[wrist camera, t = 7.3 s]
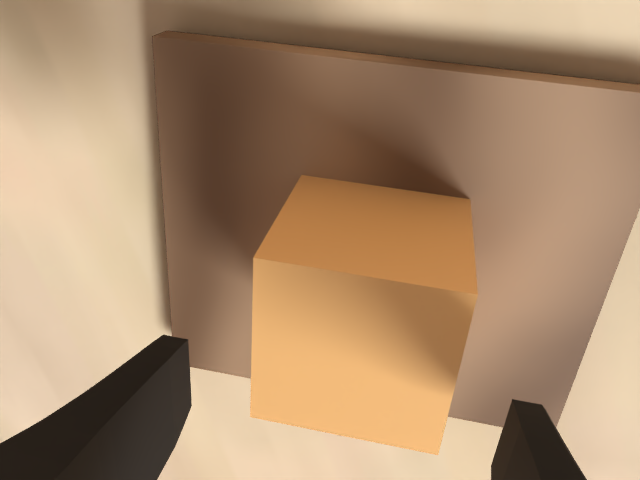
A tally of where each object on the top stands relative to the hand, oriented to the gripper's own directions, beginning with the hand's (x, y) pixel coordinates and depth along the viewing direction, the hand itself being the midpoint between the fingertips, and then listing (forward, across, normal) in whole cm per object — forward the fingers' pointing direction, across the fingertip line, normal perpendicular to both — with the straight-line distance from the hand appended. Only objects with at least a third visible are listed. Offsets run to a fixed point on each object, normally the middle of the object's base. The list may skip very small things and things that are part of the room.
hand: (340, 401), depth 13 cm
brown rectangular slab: (+7, 0, 0) cm, 7 cm away
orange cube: (+6, 0, 0) cm, 6 cm away
